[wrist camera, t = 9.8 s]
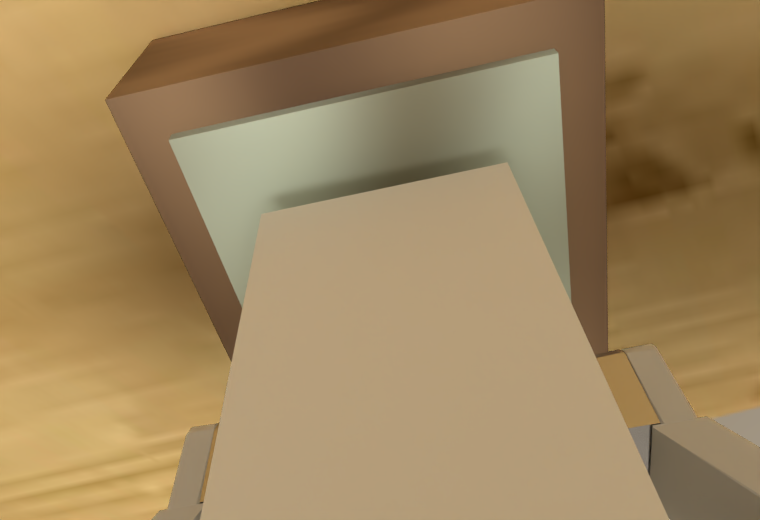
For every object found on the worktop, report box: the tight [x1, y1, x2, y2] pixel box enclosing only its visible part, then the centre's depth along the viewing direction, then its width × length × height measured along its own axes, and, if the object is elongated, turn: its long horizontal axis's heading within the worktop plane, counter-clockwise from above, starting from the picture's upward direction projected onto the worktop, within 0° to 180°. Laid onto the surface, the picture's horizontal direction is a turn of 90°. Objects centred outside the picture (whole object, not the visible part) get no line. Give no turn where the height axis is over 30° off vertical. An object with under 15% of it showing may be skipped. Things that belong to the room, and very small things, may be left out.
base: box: [105, 0, 608, 362], centre depth 17 cm, size 10×10×4 cm
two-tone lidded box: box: [200, 162, 669, 520], centre depth 11 cm, size 5×5×9 cm
